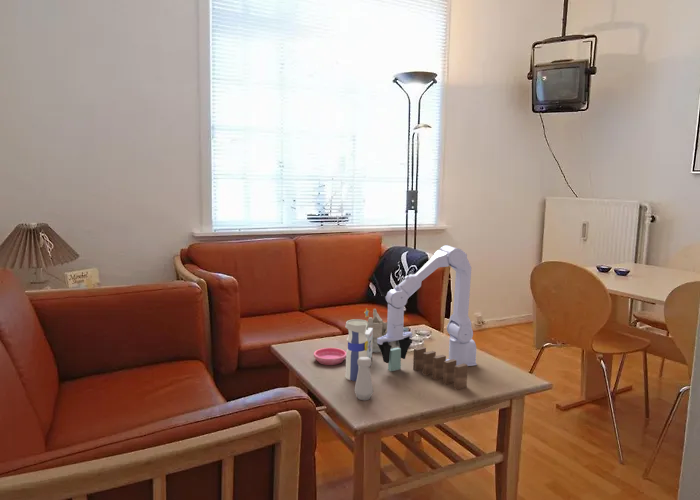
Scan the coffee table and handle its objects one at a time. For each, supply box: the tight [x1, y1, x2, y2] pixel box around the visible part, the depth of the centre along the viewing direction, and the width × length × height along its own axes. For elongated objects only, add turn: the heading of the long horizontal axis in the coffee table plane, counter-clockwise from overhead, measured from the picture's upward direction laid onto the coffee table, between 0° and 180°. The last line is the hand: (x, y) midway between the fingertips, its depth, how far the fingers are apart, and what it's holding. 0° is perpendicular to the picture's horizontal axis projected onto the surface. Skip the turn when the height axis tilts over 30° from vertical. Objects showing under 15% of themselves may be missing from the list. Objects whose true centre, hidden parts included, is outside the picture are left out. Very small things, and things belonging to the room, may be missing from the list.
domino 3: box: [422, 350, 437, 376], centre depth 187 cm, size 2×4×8 cm, turn 125°
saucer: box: [313, 347, 347, 366], centre depth 199 cm, size 12×12×3 cm
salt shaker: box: [354, 357, 374, 401], centre depth 166 cm, size 6×6×13 cm
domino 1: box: [387, 348, 402, 372], centre depth 190 cm, size 2×4×8 cm, turn 125°
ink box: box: [365, 328, 373, 360], centre depth 199 cm, size 9×5×12 cm, turn 168°
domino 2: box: [412, 346, 427, 372], centre depth 191 cm, size 2×4×8 cm, turn 124°
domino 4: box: [432, 354, 447, 381], centre depth 183 cm, size 2×4×8 cm, turn 124°
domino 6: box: [453, 364, 469, 391], centre depth 175 cm, size 2×4×8 cm, turn 124°
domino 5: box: [442, 359, 457, 385], centre depth 179 cm, size 2×4×8 cm, turn 125°
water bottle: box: [344, 307, 370, 382], centre depth 182 cm, size 8×9×25 cm
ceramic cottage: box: [367, 308, 405, 353], centre depth 215 cm, size 16×16×15 cm
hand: (394, 360), depth 190 cm, fingers open, 7 cm apart
